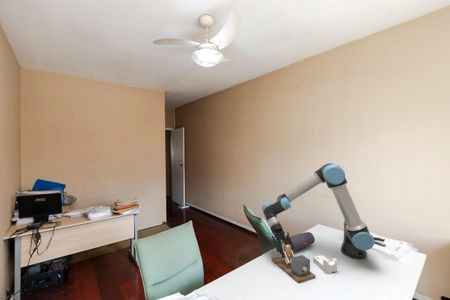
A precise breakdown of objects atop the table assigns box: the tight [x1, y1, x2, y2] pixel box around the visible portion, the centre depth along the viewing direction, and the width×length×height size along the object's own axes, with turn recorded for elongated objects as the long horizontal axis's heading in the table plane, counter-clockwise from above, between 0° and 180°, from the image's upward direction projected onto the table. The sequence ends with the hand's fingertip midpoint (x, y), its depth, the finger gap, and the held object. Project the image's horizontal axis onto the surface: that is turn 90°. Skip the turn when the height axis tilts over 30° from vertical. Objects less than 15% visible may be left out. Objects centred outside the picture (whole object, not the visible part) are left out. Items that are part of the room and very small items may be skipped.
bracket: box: [312, 255, 338, 275], centre depth 126 cm, size 13×7×8 cm, turn 9°
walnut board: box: [271, 255, 316, 284], centre depth 124 cm, size 24×12×2 cm, turn 23°
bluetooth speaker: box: [283, 231, 316, 252], centre depth 149 cm, size 23×9×10 cm, turn 120°
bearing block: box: [291, 254, 311, 277], centre depth 118 cm, size 6×8×8 cm
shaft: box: [283, 243, 308, 272], centre depth 122 cm, size 17×5×10 cm, turn 23°
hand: (291, 262), depth 124 cm, fingers closed on shaft, 4 cm apart
